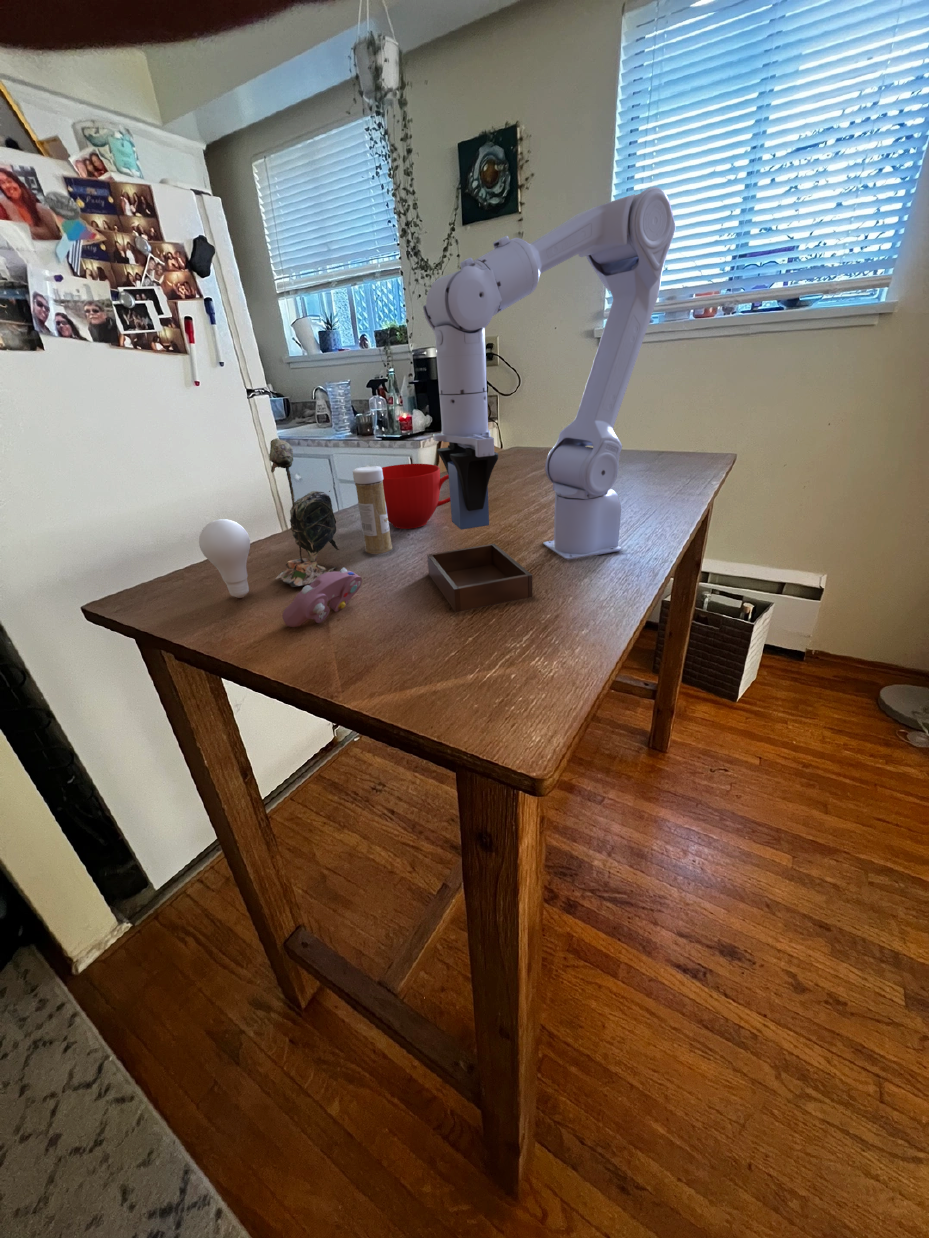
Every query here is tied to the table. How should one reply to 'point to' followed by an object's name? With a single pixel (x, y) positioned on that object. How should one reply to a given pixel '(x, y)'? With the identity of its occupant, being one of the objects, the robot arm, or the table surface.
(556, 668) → the table surface
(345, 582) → the video game controller
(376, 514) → the sprinkles bottle
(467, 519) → the peg
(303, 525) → the ostrich figurine
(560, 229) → the robot arm
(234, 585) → the lightbulb
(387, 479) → the ceramic cup
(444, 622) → the table surface
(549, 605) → the table surface
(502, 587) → the box
